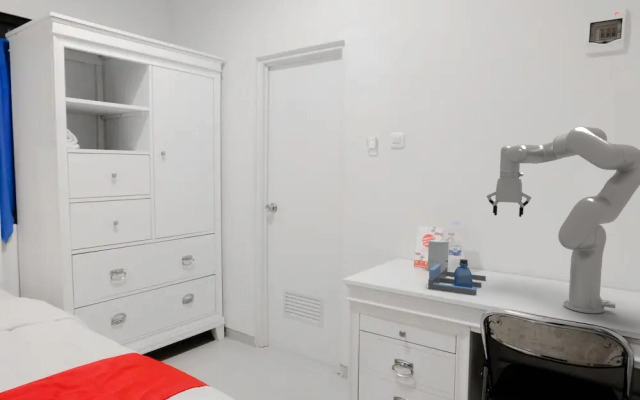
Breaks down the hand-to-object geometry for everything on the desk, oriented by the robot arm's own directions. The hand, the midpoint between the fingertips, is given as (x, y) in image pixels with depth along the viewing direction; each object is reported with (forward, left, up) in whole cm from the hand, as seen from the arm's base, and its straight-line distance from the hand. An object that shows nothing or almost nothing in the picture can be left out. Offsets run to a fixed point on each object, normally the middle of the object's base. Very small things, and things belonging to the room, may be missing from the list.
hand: (507, 215), depth 182 cm
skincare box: (+32, -14, -31) cm, 46 cm away
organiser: (+18, +8, -30) cm, 36 cm away
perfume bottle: (+15, +15, -30) cm, 37 cm away
